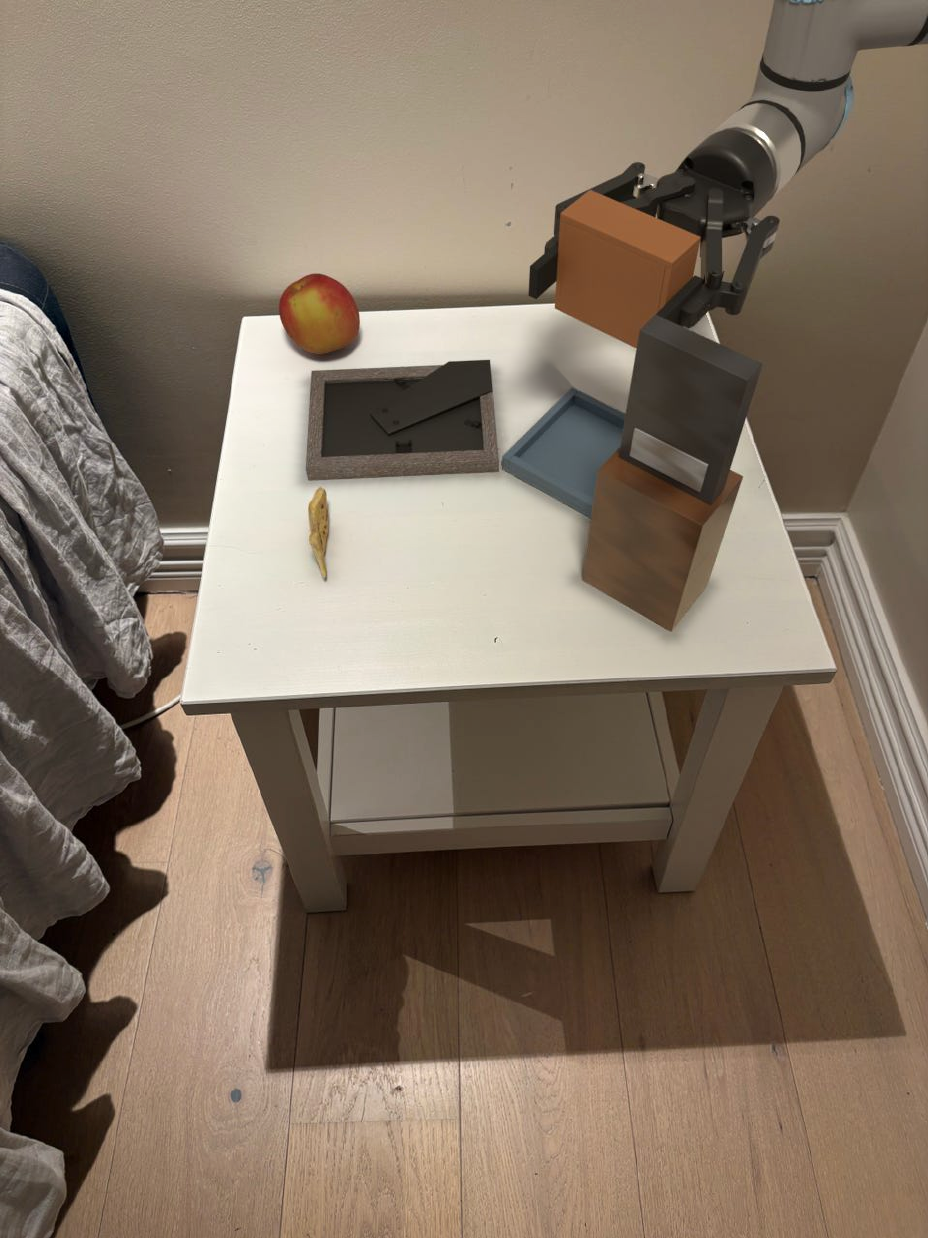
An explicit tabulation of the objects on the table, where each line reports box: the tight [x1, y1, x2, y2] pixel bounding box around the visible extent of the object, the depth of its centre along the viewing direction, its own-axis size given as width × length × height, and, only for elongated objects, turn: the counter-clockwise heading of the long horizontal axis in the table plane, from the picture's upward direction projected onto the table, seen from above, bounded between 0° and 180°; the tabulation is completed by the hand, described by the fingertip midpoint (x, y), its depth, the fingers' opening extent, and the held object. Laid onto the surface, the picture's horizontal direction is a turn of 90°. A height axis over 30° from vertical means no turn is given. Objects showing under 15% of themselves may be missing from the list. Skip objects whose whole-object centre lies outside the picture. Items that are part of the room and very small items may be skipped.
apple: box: [278, 273, 361, 355], centre depth 98 cm, size 8×8×8 cm
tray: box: [501, 387, 626, 519], centre depth 91 cm, size 14×12×2 cm
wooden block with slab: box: [581, 315, 764, 632], centre depth 73 cm, size 9×6×26 cm, turn 52°
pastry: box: [307, 486, 329, 579], centre depth 85 cm, size 9×2×5 cm, turn 4°
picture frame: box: [305, 359, 500, 481], centre depth 94 cm, size 13×2×18 cm
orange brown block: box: [554, 189, 701, 349], centre depth 74 cm, size 10×4×9 cm, turn 51°
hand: (590, 309), depth 73 cm, fingers closed on orange brown block, 10 cm apart
